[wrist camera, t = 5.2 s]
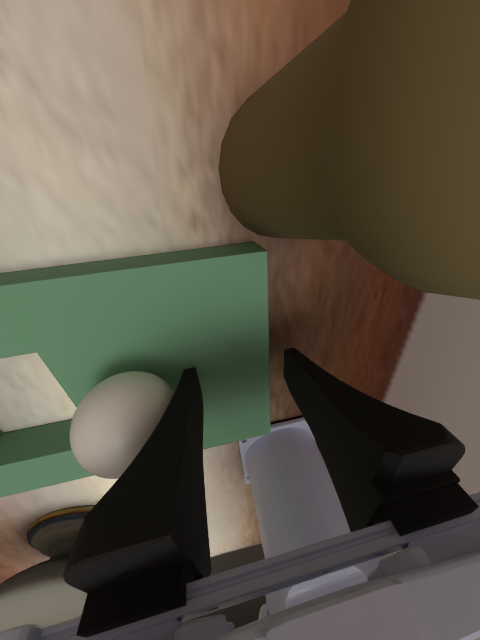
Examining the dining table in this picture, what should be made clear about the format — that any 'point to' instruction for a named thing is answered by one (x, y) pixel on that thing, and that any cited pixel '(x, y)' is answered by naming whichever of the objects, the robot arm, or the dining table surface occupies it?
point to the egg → (117, 421)
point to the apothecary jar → (45, 575)
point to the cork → (372, 143)
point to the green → (140, 342)
